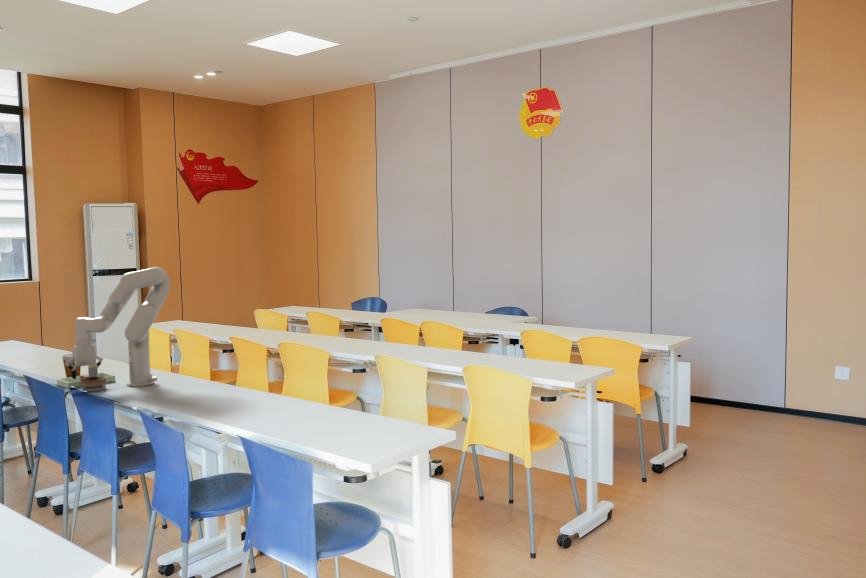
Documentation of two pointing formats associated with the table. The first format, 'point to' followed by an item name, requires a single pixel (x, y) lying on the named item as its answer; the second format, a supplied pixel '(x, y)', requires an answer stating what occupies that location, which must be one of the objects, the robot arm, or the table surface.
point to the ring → (87, 382)
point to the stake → (93, 376)
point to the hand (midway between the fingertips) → (84, 377)
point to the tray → (77, 383)
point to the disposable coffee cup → (67, 370)
